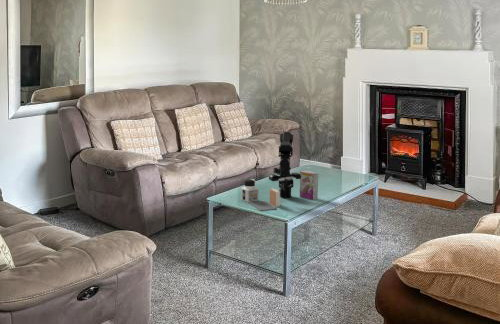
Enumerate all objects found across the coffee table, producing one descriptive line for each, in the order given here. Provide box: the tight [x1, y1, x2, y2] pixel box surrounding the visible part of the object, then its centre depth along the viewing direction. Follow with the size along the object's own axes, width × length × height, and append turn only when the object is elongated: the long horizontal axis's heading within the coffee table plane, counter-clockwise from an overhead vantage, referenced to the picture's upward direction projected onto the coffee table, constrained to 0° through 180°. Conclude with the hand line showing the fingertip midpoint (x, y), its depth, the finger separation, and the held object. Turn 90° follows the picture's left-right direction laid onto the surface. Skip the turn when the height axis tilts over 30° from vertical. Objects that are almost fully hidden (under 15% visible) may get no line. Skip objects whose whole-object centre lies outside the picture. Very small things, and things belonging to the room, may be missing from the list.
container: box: [240, 178, 259, 203], centre depth 360 cm, size 8×8×13 cm
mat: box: [248, 200, 278, 212], centre depth 348 cm, size 10×18×1 cm, turn 21°
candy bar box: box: [299, 170, 319, 201], centre depth 365 cm, size 11×5×16 cm, turn 43°
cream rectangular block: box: [269, 188, 281, 208], centre depth 350 cm, size 3×8×9 cm, turn 21°
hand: (284, 190), depth 352 cm, fingers closed
